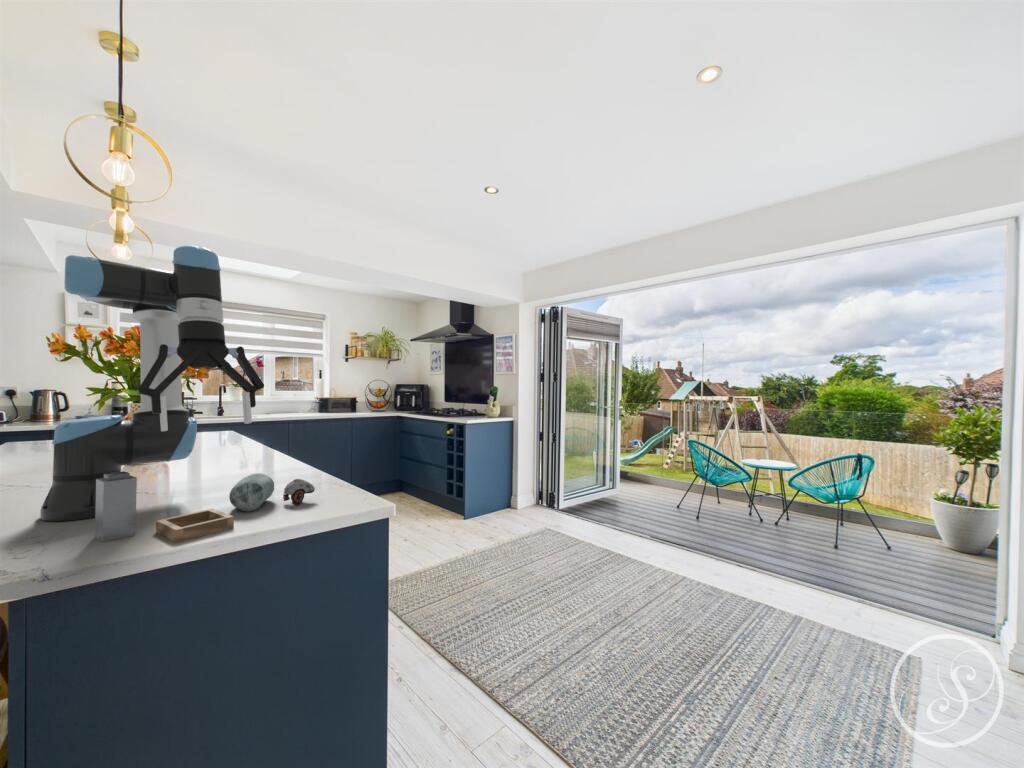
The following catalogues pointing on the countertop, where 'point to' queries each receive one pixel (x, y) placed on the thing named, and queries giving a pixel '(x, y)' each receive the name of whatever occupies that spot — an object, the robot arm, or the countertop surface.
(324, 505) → the countertop surface
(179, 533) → the tray
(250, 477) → the mottled river stone
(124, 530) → the grey upright rectangular pillar
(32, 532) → the countertop surface
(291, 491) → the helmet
